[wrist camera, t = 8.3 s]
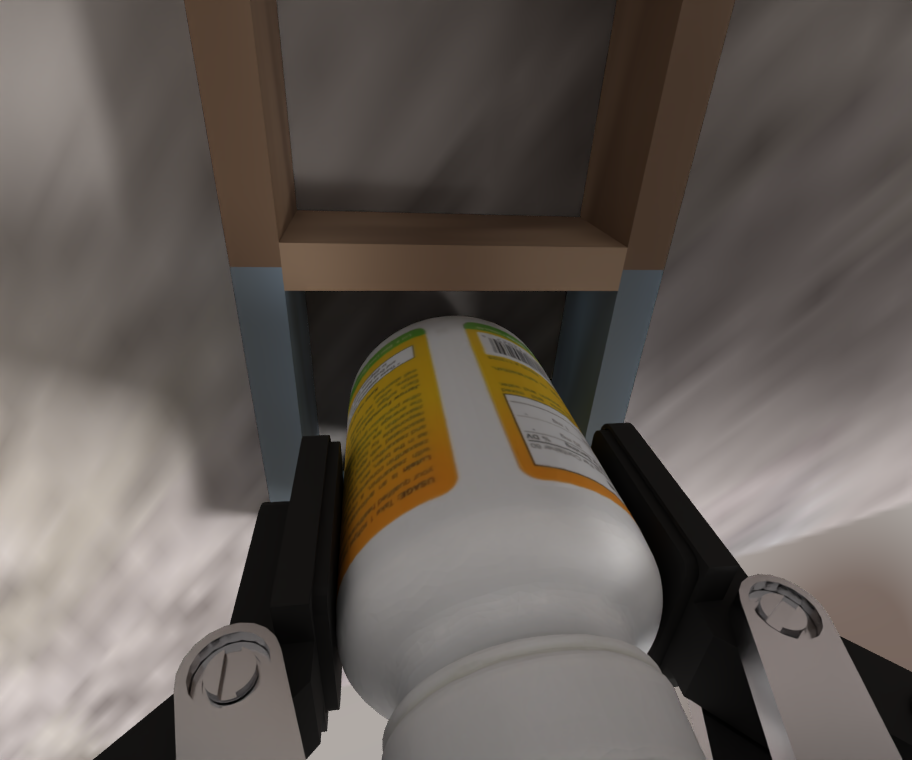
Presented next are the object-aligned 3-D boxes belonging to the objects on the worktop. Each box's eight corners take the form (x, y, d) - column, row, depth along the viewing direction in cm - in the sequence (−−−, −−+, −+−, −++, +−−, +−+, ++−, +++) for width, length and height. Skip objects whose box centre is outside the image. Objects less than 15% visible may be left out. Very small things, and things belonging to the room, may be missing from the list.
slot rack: (723, -312, 9) (856, -461, 7) (556, 501, 19) (585, 565, 17) (167, -422, 8) (69, -666, 5) (297, 518, 18) (285, 591, 15)
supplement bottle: (364, 486, 15) (358, 966, 7) (332, 322, 13) (258, 793, 4) (539, 462, 16) (725, 882, 8) (545, 299, 13) (851, 679, 5)
